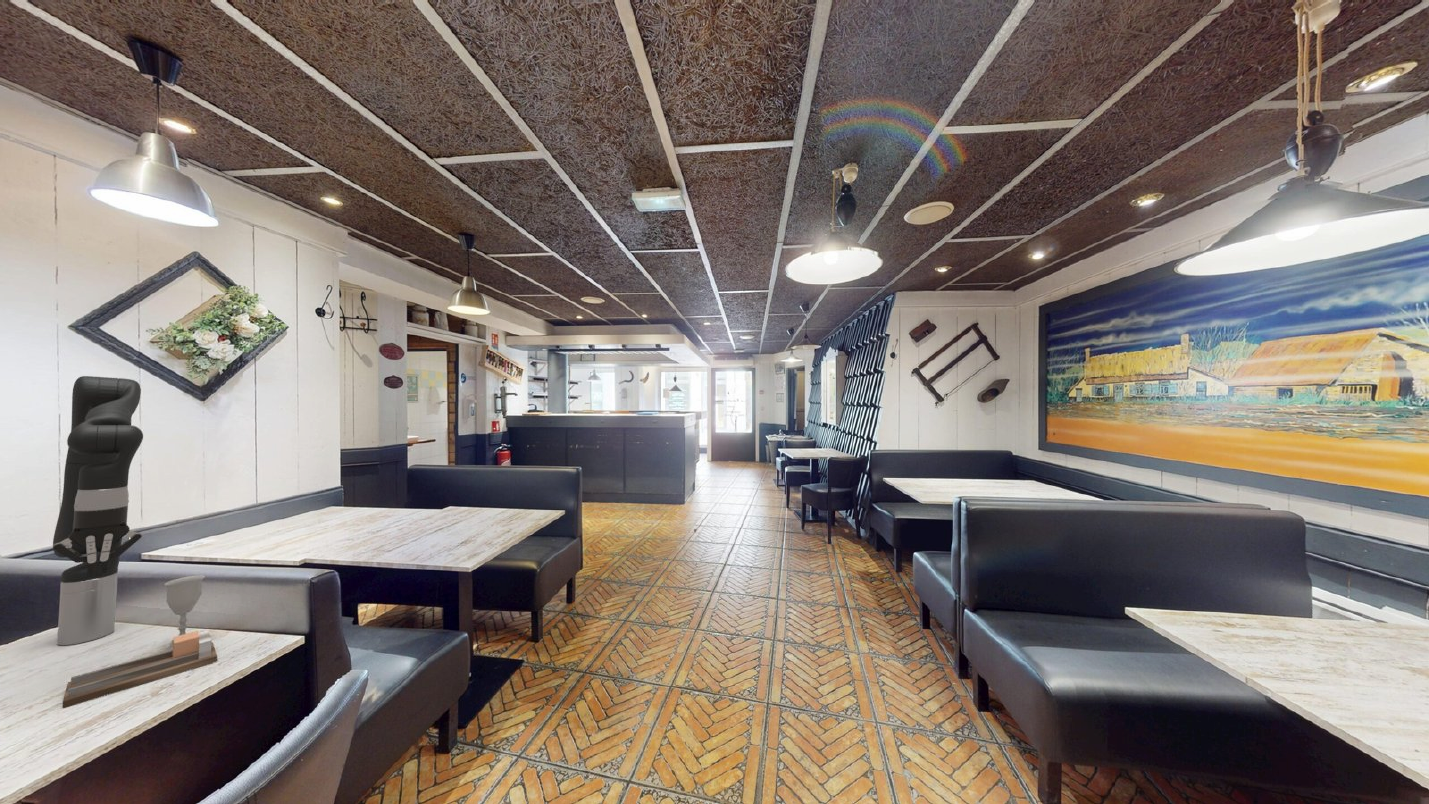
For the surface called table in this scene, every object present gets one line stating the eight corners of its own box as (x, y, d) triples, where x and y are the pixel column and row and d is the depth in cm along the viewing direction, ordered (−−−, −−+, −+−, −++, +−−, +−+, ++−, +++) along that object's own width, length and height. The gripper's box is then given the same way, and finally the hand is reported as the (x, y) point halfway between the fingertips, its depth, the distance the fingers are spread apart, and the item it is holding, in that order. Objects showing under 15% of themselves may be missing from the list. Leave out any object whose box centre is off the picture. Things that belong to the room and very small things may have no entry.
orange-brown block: (172, 656, 109) (173, 637, 110) (196, 649, 113) (197, 630, 113) (173, 663, 106) (174, 643, 107) (198, 656, 110) (199, 636, 110)
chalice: (176, 653, 114) (180, 585, 115) (152, 652, 114) (155, 585, 115) (209, 638, 121) (212, 575, 122) (186, 638, 121) (189, 575, 122)
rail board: (67, 688, 99) (68, 664, 99) (212, 647, 117) (213, 627, 117) (62, 708, 92) (63, 682, 93) (216, 661, 110) (217, 640, 110)
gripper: (146, 499, 112) (142, 565, 111) (54, 507, 101) (48, 580, 100) (147, 504, 107) (142, 572, 107) (50, 513, 96) (44, 589, 96)
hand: (96, 576), depth 104 cm, fingers closed
